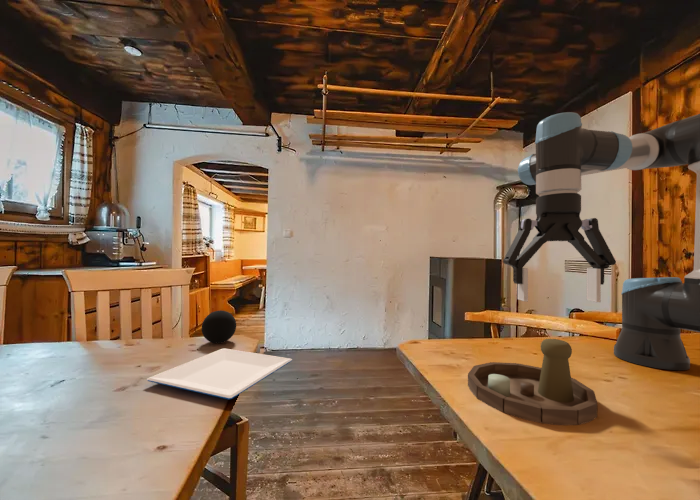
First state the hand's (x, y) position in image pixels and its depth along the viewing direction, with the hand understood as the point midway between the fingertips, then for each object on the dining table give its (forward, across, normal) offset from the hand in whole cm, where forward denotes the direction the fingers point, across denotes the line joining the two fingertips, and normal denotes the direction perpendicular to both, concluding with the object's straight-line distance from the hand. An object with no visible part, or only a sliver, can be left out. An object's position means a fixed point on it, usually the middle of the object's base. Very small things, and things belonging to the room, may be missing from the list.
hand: (557, 300), depth 62 cm
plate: (+19, +71, -5) cm, 74 cm away
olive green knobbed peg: (+19, 0, 0) cm, 19 cm away
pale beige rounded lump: (+19, +12, 0) cm, 22 cm away
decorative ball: (+19, +85, -29) cm, 92 cm away
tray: (+20, +6, 0) cm, 21 cm away
